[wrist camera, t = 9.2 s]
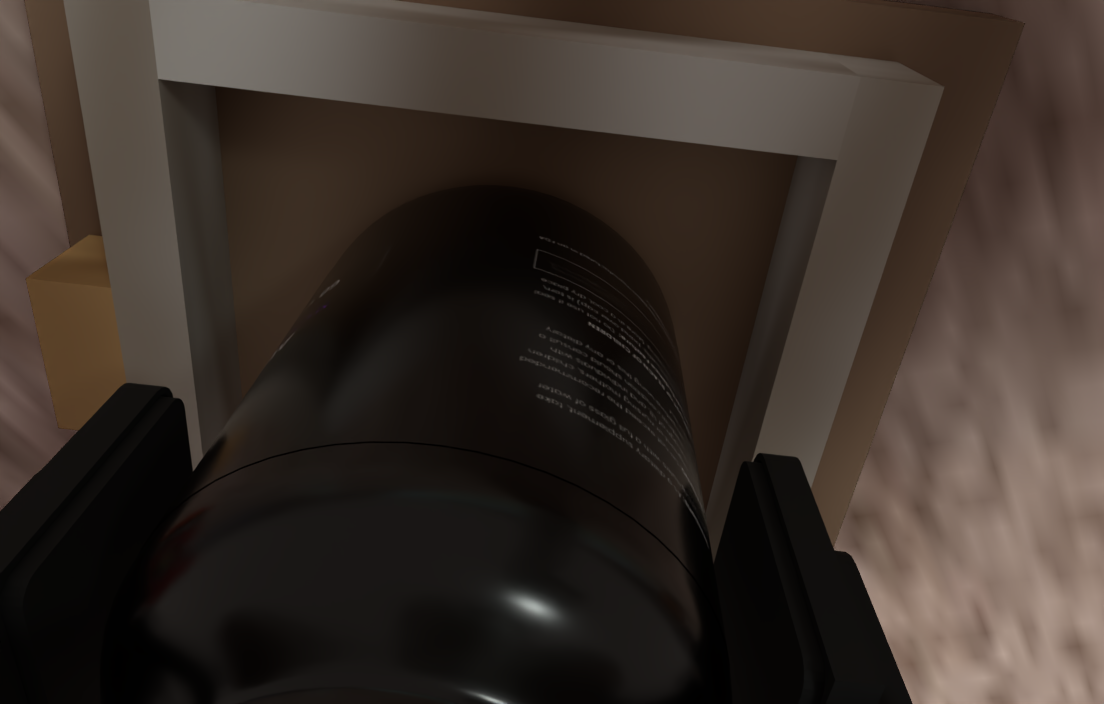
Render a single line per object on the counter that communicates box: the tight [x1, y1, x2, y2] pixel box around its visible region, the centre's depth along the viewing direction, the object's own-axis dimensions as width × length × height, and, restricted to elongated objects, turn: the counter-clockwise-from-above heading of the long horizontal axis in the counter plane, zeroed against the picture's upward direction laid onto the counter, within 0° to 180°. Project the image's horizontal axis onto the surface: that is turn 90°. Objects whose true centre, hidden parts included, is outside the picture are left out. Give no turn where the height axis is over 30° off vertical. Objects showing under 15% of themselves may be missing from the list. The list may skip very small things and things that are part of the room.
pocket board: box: [24, 0, 1025, 563], centre depth 16 cm, size 16×14×3 cm
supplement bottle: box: [100, 185, 732, 704], centre depth 11 cm, size 7×7×12 cm
